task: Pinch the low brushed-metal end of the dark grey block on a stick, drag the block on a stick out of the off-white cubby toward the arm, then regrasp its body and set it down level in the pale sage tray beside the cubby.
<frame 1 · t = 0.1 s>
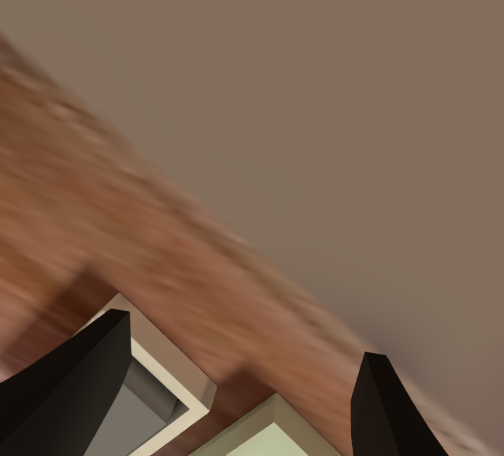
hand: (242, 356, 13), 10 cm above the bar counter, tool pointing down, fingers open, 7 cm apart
block on a stick: (116, 384, 27), on the bar counter
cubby: (113, 387, 27), on the bar counter
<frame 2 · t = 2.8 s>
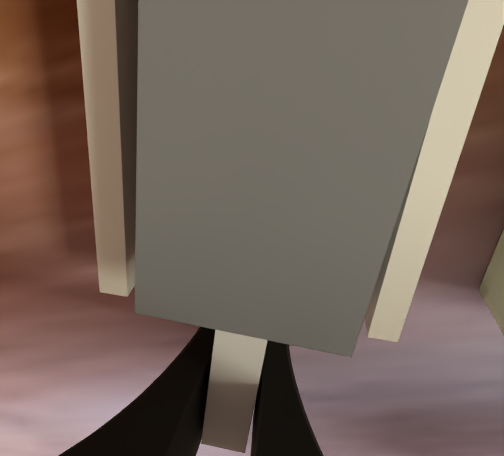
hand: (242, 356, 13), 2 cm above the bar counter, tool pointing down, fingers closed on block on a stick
block on a stick: (284, 119, 11), on the bar counter, touching gripper
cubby: (272, 132, 12), on the bar counter
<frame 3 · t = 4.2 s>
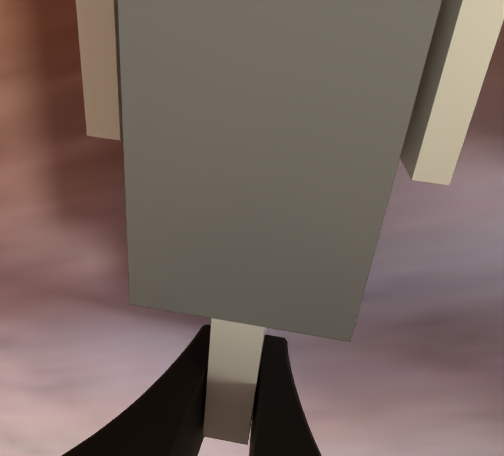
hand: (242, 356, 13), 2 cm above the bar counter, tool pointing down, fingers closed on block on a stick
block on a stick: (275, 105, 11), on the bar counter, touching gripper
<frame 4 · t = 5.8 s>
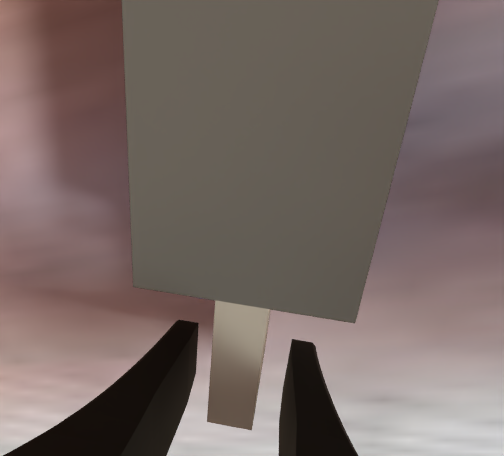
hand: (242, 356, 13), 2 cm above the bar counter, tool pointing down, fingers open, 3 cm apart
block on a stick: (279, 89, 11), on the bar counter
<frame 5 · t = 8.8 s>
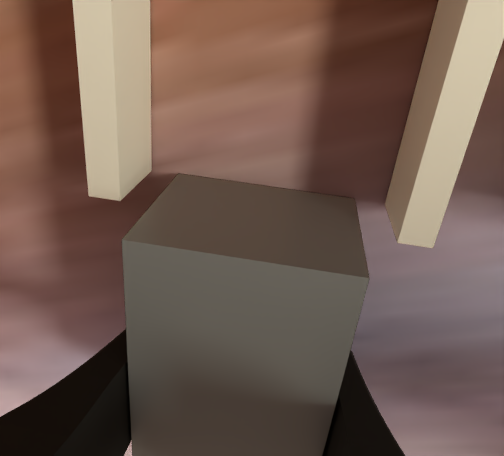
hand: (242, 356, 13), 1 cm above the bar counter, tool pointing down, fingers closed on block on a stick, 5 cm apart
block on a stick: (251, 300, 14), on the bar counter, touching gripper
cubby: (287, 7, 10), on the bar counter
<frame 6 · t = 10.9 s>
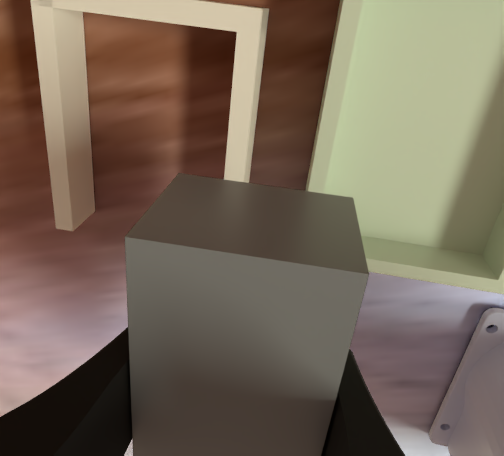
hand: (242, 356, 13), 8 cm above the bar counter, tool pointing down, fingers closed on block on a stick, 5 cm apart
block on a stick: (250, 299, 14), point 7 cm above the bar counter, touching gripper
tray: (428, 121, 17), on the bar counter
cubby: (161, 131, 19), on the bar counter
when the fingers open (4 cm above the bar counter, at t = 13.0 s): block on a stick drops 1 cm, resting on tray.
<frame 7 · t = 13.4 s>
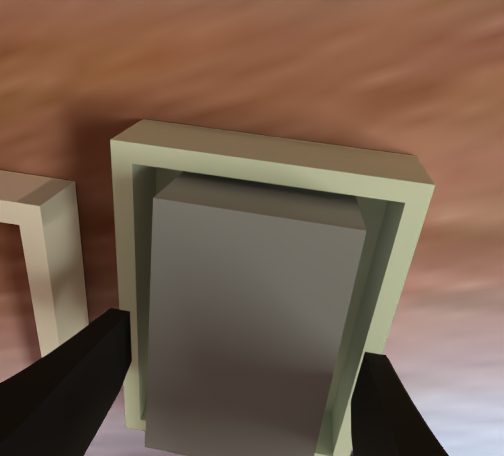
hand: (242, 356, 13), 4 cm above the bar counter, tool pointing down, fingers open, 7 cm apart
block on a stick: (257, 282, 15), point 1 cm above the bar counter, tilted 6°, touching tray
tray: (257, 288, 16), on the bar counter
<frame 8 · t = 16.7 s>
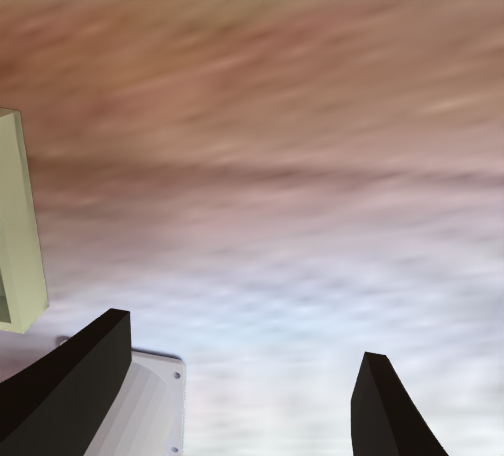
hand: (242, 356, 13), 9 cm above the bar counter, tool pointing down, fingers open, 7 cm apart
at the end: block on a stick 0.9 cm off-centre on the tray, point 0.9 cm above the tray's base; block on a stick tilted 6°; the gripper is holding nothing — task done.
